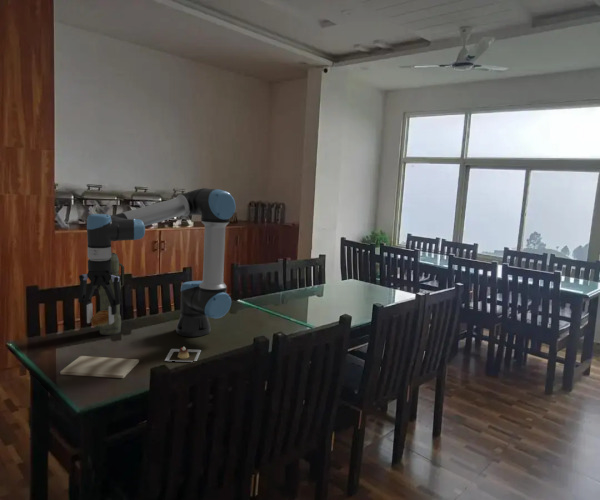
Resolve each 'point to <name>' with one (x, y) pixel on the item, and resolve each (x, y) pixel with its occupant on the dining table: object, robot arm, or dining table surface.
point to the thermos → (104, 300)
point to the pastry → (101, 318)
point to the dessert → (182, 354)
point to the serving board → (100, 367)
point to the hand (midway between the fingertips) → (100, 322)
